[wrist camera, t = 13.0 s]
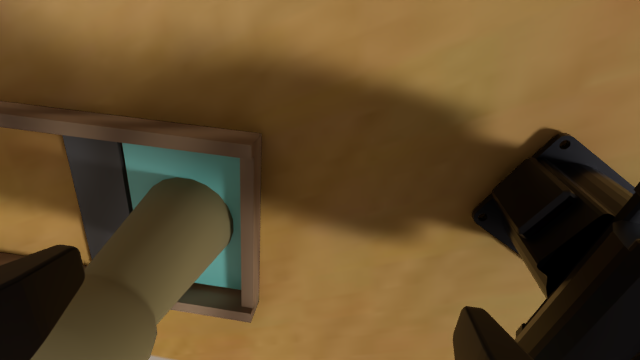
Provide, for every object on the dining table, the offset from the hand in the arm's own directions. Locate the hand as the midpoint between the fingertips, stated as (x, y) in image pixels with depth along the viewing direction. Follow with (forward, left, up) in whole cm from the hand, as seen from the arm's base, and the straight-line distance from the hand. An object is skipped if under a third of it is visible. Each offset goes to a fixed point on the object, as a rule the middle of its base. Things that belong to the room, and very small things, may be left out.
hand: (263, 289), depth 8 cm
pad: (+3, +11, -13) cm, 17 cm away
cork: (+3, +10, -13) cm, 17 cm away
